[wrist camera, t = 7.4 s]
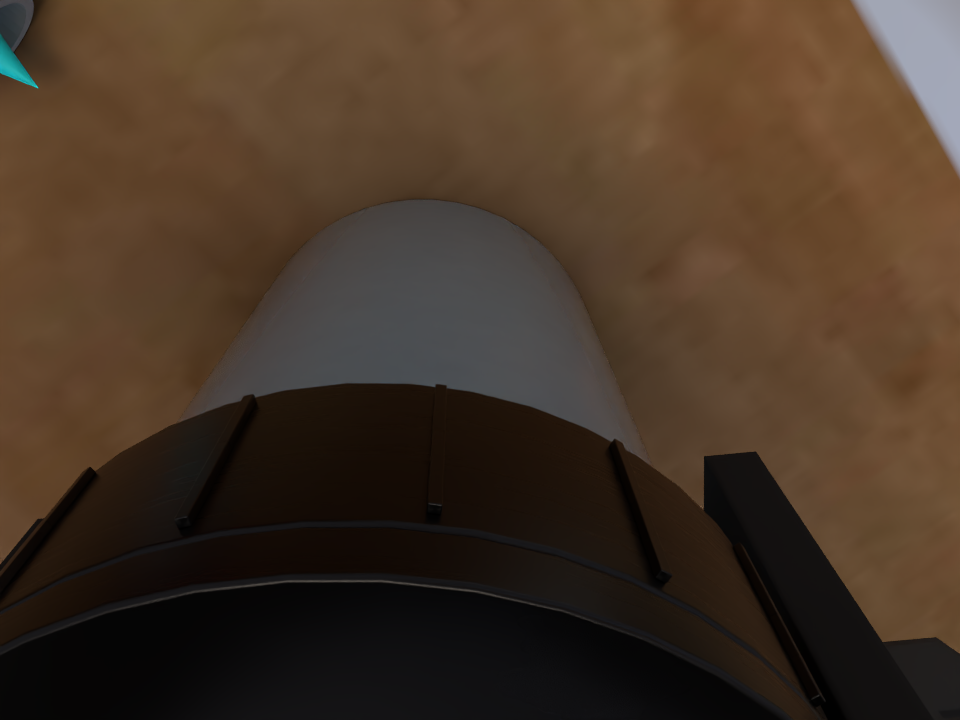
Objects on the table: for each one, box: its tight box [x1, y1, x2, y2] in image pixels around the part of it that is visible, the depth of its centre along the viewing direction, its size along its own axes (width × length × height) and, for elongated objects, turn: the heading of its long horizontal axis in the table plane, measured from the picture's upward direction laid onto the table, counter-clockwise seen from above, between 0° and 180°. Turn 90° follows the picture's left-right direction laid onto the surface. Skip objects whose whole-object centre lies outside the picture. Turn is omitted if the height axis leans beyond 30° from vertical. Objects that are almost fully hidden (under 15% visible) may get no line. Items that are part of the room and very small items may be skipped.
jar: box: [176, 200, 653, 467], centre depth 14 cm, size 8×8×14 cm
